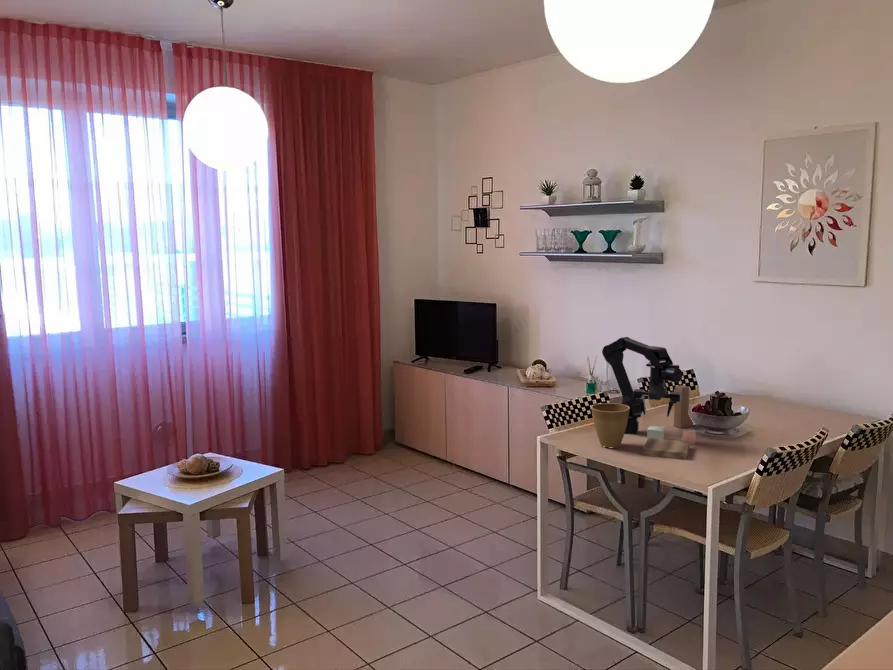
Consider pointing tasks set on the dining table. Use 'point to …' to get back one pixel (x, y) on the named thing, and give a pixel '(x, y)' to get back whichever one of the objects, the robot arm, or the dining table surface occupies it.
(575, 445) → the dining table surface
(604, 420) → the plant pot
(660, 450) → the walnut base
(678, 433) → the dining table surface
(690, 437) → the salmon pink cube
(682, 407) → the wooden block
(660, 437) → the sage cube
